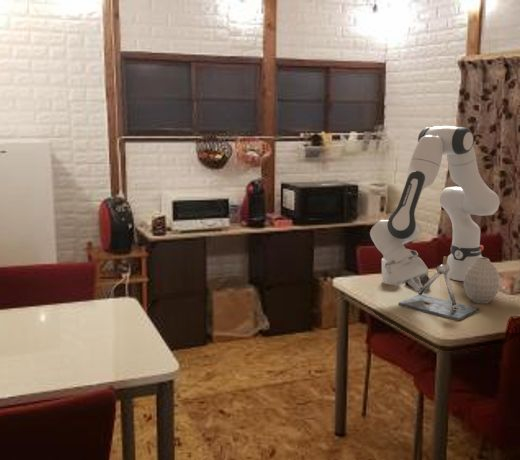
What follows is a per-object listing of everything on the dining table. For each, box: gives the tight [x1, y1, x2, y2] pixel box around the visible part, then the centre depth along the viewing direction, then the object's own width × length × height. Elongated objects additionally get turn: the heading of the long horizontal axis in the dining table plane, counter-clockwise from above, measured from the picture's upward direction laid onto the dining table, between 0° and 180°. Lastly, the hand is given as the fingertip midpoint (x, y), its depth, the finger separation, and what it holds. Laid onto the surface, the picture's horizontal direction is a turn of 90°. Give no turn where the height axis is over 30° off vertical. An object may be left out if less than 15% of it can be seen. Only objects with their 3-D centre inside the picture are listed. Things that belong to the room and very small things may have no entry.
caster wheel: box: [405, 272, 431, 286], centre depth 248 cm, size 7×11×10 cm
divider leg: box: [417, 264, 447, 295], centre depth 220 cm, size 2×3×15 cm
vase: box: [463, 256, 501, 304], centre depth 227 cm, size 13×13×17 cm
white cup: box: [381, 257, 395, 286], centre depth 252 cm, size 8×8×10 cm
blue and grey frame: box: [398, 256, 480, 322], centre depth 219 cm, size 15×24×19 cm, turn 45°
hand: (419, 289), depth 224 cm, fingers closed, pressing on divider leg
